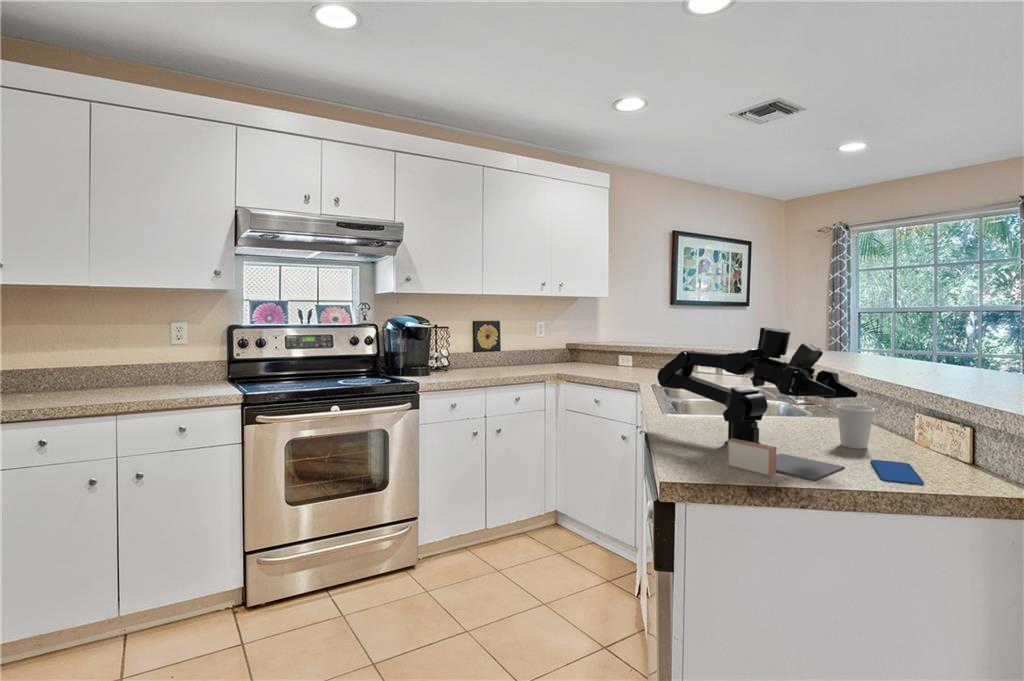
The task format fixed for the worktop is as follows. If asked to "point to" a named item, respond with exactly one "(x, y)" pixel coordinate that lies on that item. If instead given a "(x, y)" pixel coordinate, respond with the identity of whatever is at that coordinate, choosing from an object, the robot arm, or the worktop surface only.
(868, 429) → the dixie cup
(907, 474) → the smartphone
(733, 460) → the block
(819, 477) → the mat
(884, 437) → the worktop surface
